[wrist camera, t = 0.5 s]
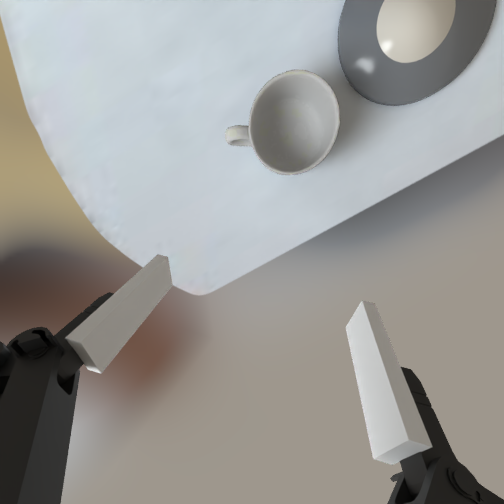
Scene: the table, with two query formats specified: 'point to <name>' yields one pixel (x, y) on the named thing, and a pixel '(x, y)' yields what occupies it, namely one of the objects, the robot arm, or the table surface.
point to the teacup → (290, 123)
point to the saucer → (409, 45)
